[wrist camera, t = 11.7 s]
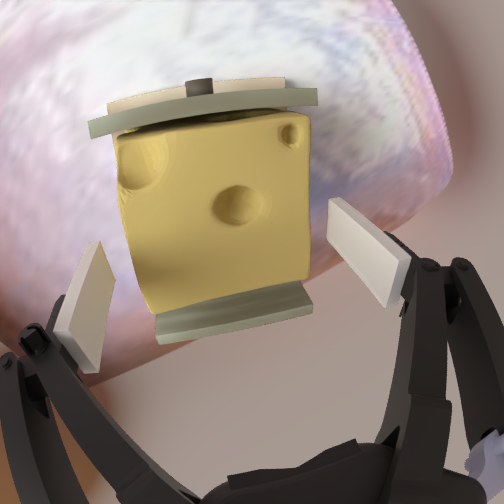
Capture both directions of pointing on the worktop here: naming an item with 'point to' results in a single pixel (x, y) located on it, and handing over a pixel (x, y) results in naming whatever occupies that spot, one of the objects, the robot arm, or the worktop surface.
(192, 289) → the cheese
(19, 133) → the worktop surface
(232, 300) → the holder
